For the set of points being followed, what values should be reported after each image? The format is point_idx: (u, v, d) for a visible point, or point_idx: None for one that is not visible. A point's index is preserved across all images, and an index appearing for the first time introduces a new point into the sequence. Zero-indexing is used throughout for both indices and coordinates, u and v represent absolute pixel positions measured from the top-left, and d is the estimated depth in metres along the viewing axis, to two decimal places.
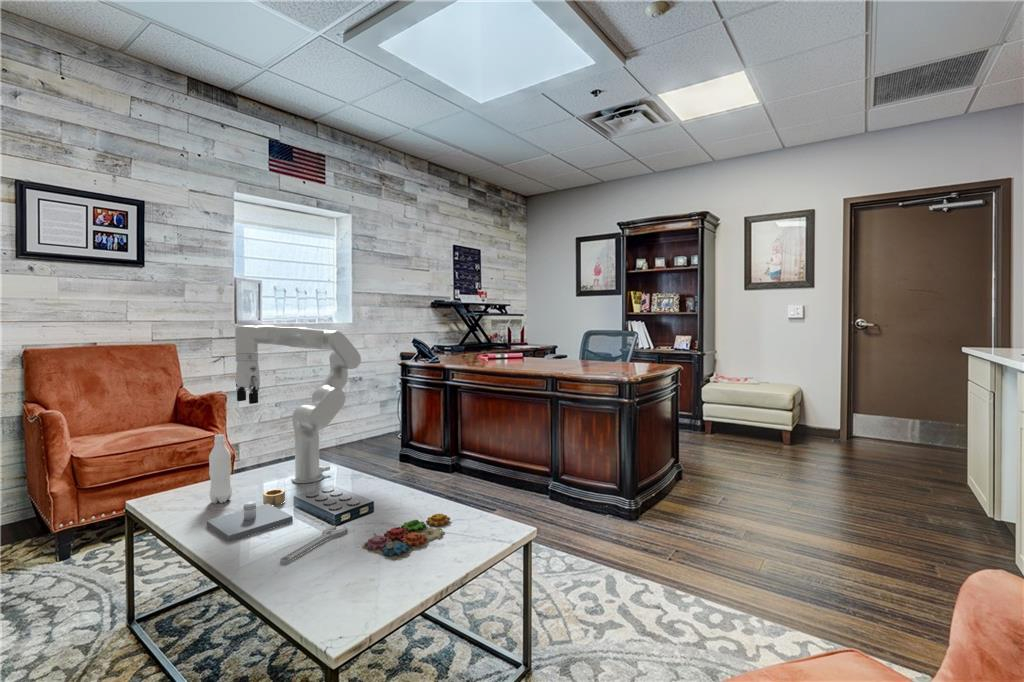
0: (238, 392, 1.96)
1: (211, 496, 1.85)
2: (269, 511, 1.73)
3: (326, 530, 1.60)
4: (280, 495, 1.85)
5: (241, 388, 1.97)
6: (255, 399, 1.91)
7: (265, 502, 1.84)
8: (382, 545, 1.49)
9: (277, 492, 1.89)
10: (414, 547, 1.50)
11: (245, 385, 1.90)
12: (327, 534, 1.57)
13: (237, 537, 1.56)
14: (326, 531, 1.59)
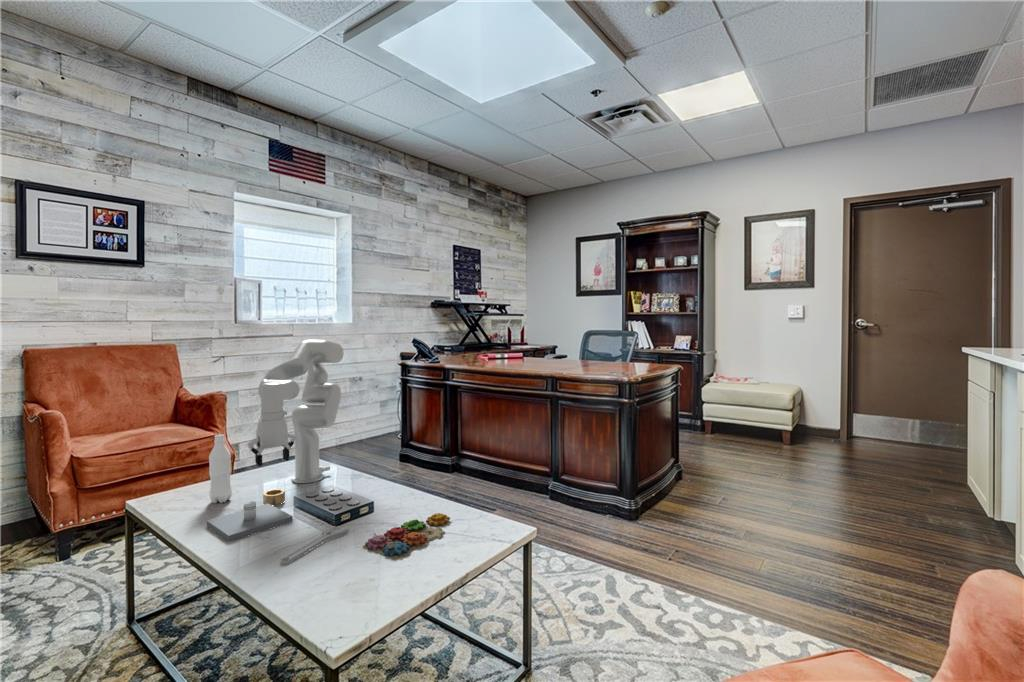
0: (261, 456, 1.81)
1: (211, 496, 1.85)
2: (269, 511, 1.73)
3: (326, 530, 1.60)
4: (280, 495, 1.85)
5: None
6: None
7: (265, 502, 1.84)
8: (383, 545, 1.49)
9: (277, 492, 1.89)
10: (414, 547, 1.50)
11: (283, 443, 1.86)
12: (327, 534, 1.57)
13: (237, 537, 1.56)
14: (326, 531, 1.59)
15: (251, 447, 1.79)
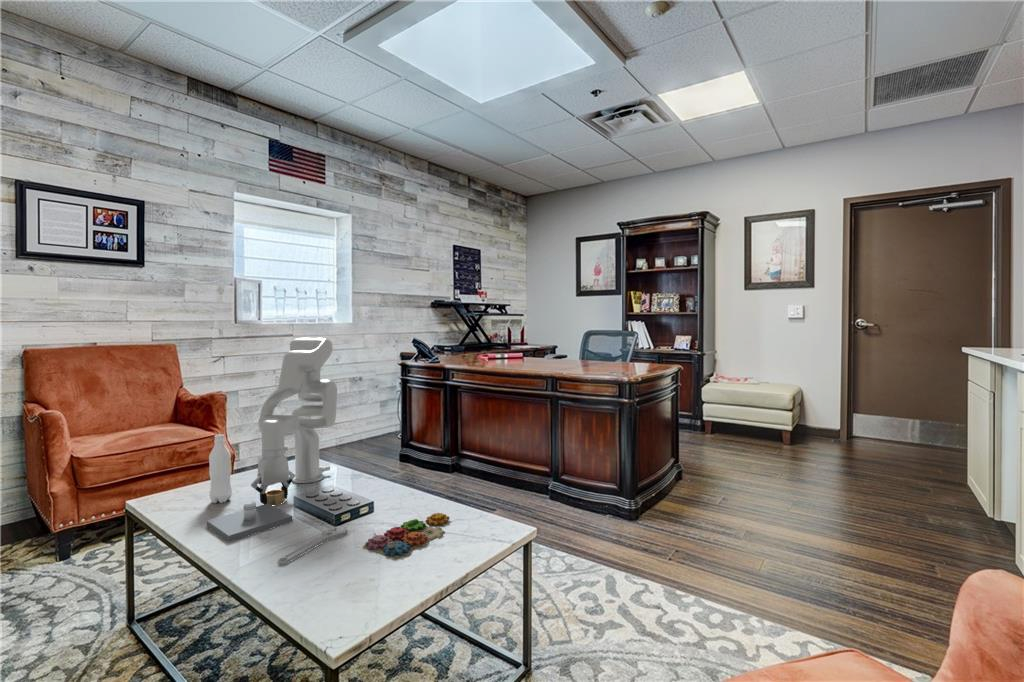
0: (266, 494, 1.83)
1: (211, 496, 1.85)
2: (269, 511, 1.73)
3: (326, 531, 1.59)
4: (280, 495, 1.85)
5: None
6: None
7: None
8: (383, 545, 1.49)
9: (277, 492, 1.89)
10: (415, 546, 1.50)
11: (284, 479, 1.87)
12: (327, 535, 1.57)
13: (237, 537, 1.56)
14: (326, 532, 1.58)
15: (255, 487, 1.81)
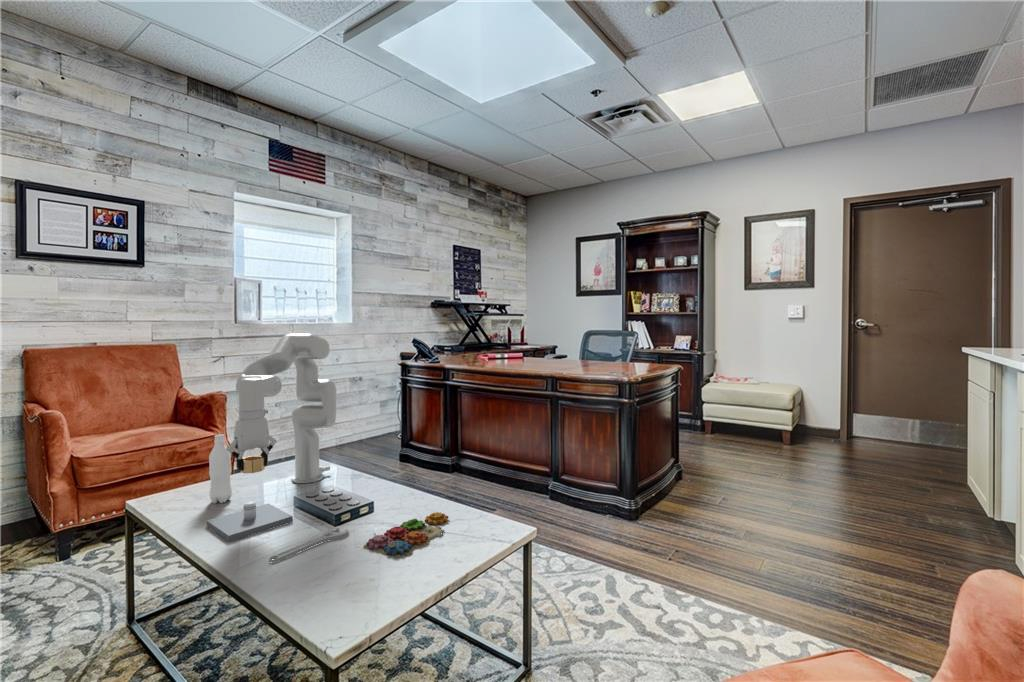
0: (243, 460, 1.66)
1: (211, 496, 1.85)
2: (269, 511, 1.73)
3: (327, 532, 1.59)
4: (259, 461, 1.68)
5: None
6: None
7: None
8: (384, 545, 1.49)
9: (256, 459, 1.72)
10: (416, 545, 1.51)
11: (264, 444, 1.70)
12: (326, 536, 1.56)
13: (237, 537, 1.56)
14: (326, 533, 1.58)
15: (231, 451, 1.64)
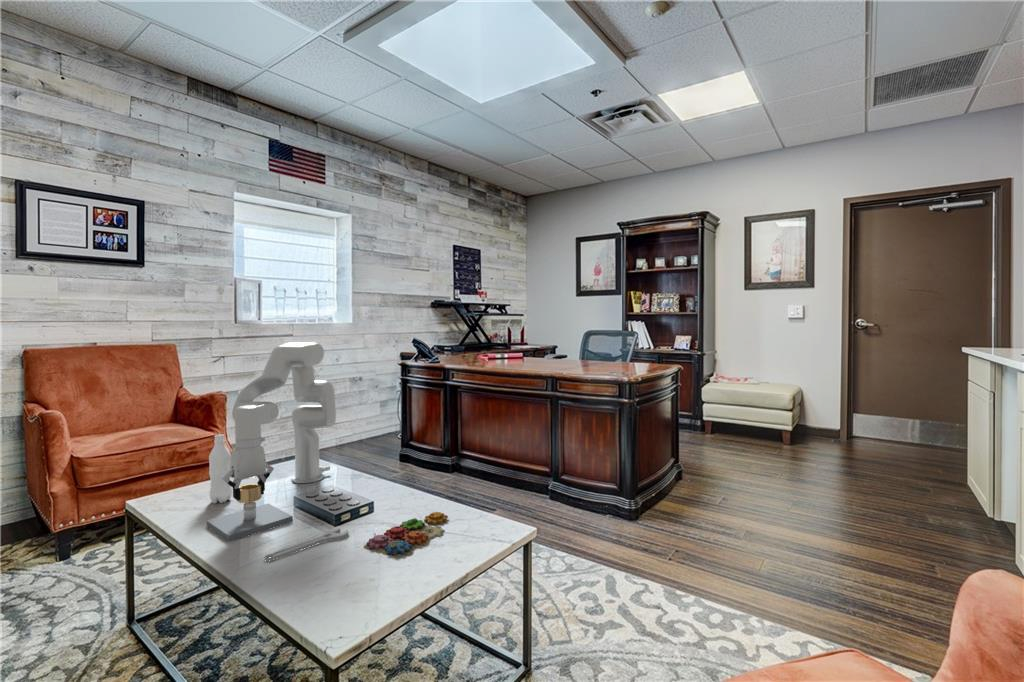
0: (239, 489, 1.63)
1: (211, 496, 1.85)
2: (269, 511, 1.73)
3: (327, 532, 1.59)
4: (256, 490, 1.65)
5: None
6: None
7: None
8: (385, 544, 1.49)
9: (253, 487, 1.69)
10: (416, 545, 1.51)
11: (261, 472, 1.68)
12: (325, 536, 1.56)
13: (237, 537, 1.56)
14: (326, 533, 1.58)
15: (227, 481, 1.61)
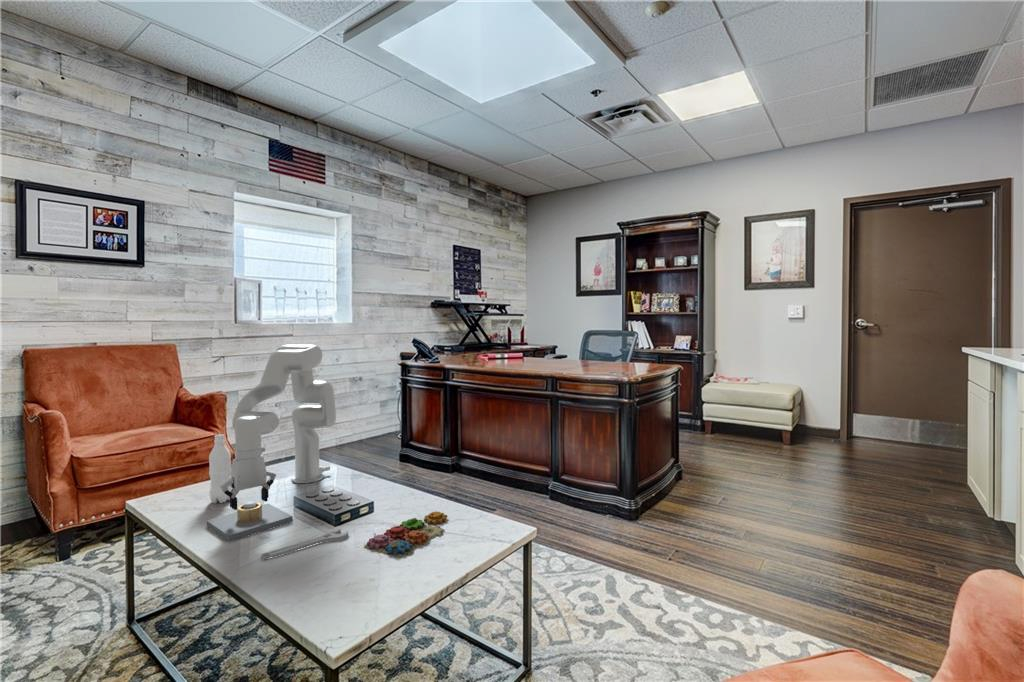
0: (236, 499, 1.63)
1: (211, 496, 1.85)
2: (269, 511, 1.73)
3: (327, 532, 1.58)
4: (256, 509, 1.66)
5: None
6: None
7: (239, 517, 1.65)
8: (385, 544, 1.50)
9: None
10: (417, 545, 1.51)
11: (261, 483, 1.68)
12: (324, 537, 1.55)
13: (237, 537, 1.56)
14: (326, 533, 1.57)
15: (224, 490, 1.61)
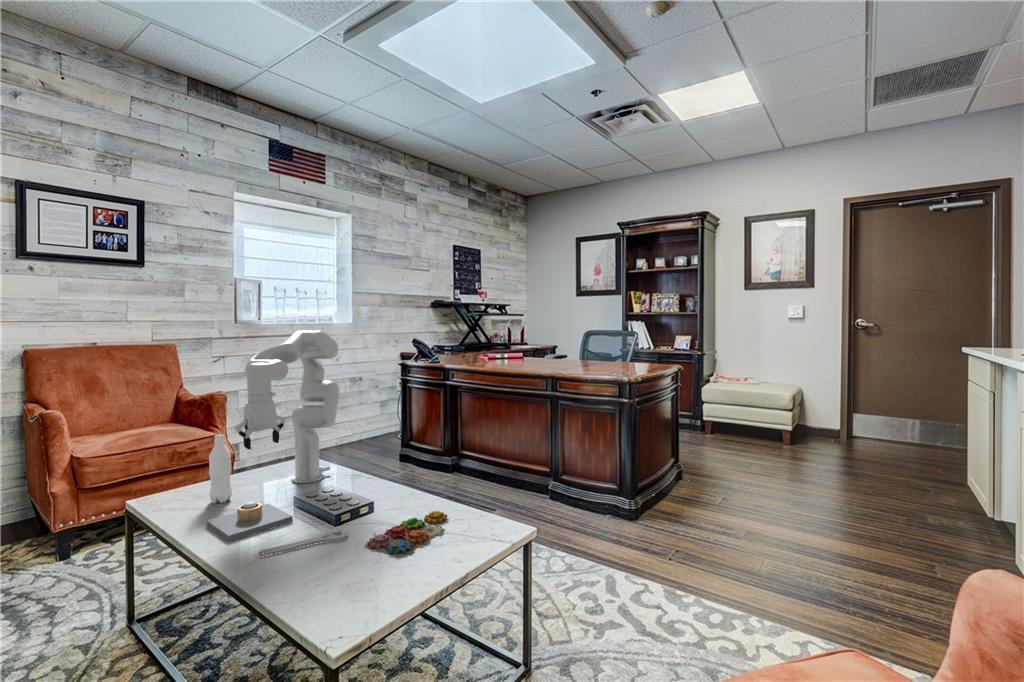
0: (250, 439, 1.74)
1: (211, 496, 1.85)
2: (269, 511, 1.73)
3: (327, 533, 1.58)
4: (256, 509, 1.66)
5: None
6: None
7: (239, 517, 1.65)
8: (386, 544, 1.50)
9: None
10: (417, 544, 1.52)
11: (272, 425, 1.79)
12: (322, 537, 1.55)
13: (237, 537, 1.56)
14: (326, 534, 1.57)
15: (238, 430, 1.72)
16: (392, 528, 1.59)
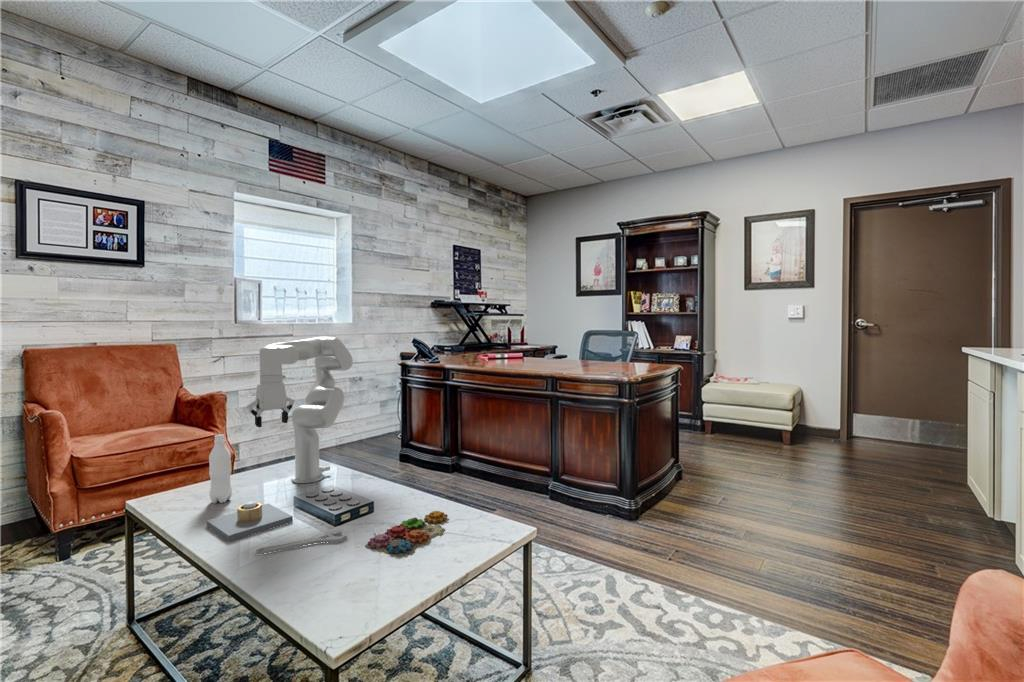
0: (261, 417, 1.86)
1: (211, 496, 1.85)
2: (269, 511, 1.73)
3: (327, 533, 1.57)
4: (256, 509, 1.66)
5: None
6: None
7: (239, 517, 1.65)
8: (386, 544, 1.50)
9: None
10: (418, 544, 1.52)
11: (282, 406, 1.91)
12: (321, 538, 1.55)
13: (237, 537, 1.56)
14: (325, 534, 1.57)
15: (251, 409, 1.83)
16: (392, 528, 1.59)
